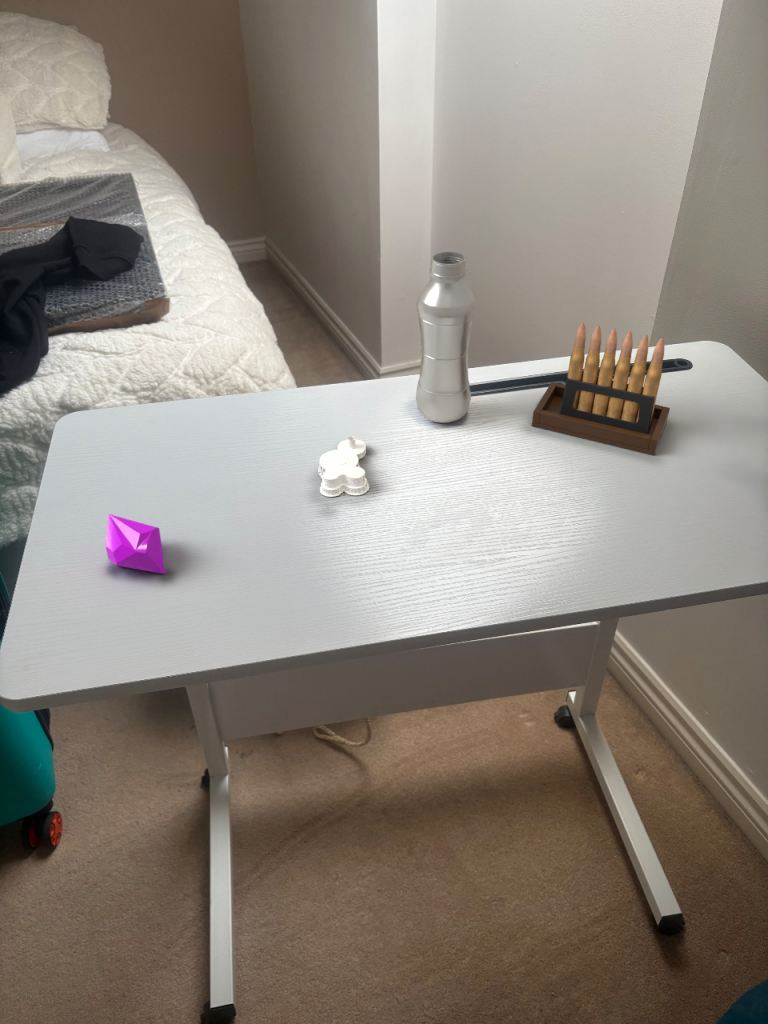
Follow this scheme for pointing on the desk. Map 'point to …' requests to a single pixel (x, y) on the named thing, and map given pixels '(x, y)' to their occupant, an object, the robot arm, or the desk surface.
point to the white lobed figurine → (343, 469)
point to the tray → (596, 424)
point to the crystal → (134, 545)
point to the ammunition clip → (613, 382)
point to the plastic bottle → (445, 340)
